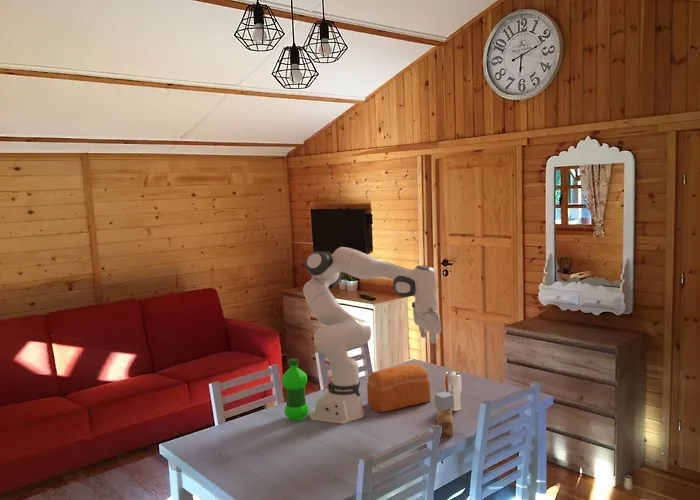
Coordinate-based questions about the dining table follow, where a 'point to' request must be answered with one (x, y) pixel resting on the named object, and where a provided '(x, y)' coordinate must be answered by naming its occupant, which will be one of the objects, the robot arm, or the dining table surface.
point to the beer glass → (454, 387)
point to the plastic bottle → (295, 391)
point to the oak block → (444, 416)
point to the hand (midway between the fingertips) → (427, 339)
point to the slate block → (444, 401)
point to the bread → (398, 387)
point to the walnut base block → (446, 428)
